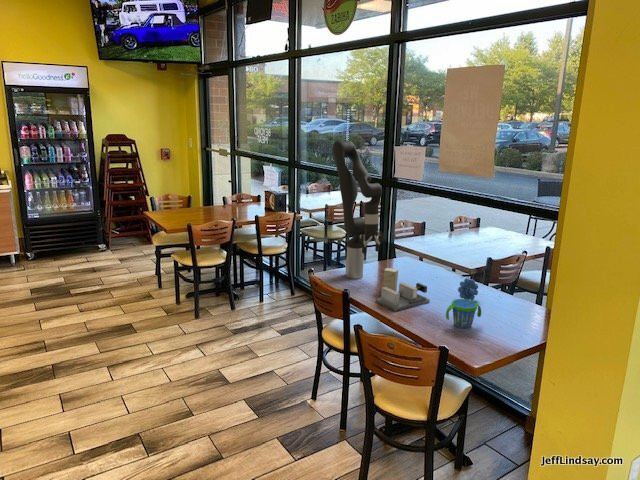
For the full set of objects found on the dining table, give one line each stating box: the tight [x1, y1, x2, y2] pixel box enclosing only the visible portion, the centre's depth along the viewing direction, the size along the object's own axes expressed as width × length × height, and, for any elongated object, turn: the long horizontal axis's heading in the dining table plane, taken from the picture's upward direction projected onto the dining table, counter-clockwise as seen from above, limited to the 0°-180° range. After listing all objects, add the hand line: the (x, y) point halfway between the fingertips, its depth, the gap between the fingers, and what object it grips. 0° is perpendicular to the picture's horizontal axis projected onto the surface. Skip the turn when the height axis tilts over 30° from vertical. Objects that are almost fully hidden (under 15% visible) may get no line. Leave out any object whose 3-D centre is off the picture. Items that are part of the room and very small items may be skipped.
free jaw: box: [398, 281, 428, 301], centre depth 235 cm, size 10×11×6 cm
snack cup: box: [445, 298, 482, 329], centre depth 206 cm, size 16×10×10 cm
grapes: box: [457, 277, 479, 301], centre depth 232 cm, size 12×7×12 cm, turn 111°
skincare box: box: [382, 267, 399, 292], centre depth 243 cm, size 6×4×12 cm
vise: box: [375, 286, 431, 312], centre depth 231 cm, size 14×22×8 cm, turn 122°
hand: (370, 252), depth 252 cm, fingers open, 8 cm apart
